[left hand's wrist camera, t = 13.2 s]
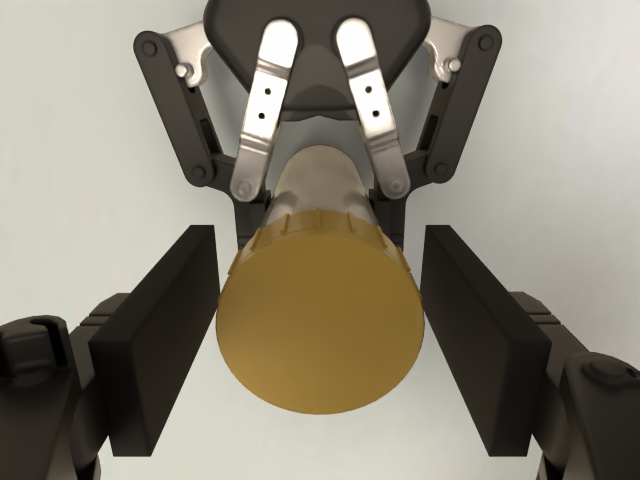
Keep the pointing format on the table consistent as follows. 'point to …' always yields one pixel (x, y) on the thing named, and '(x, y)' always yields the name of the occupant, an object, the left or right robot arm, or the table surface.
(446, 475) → the table surface
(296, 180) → the jar
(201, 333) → the left robot arm
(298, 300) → the lid
